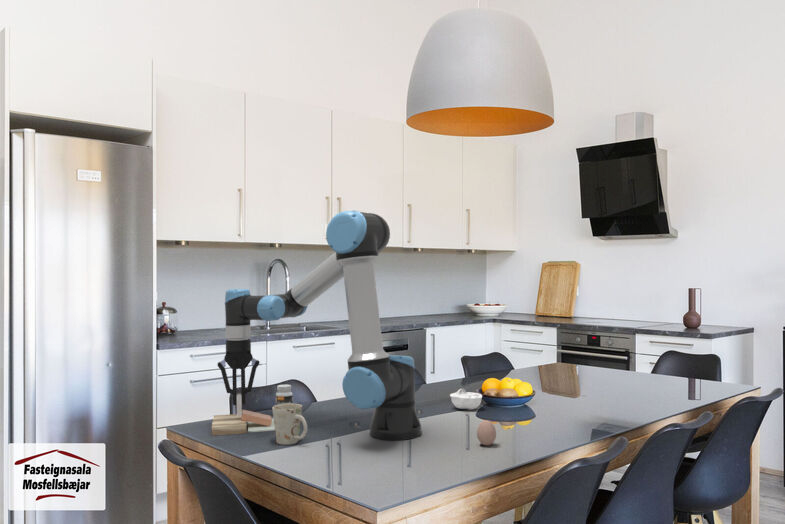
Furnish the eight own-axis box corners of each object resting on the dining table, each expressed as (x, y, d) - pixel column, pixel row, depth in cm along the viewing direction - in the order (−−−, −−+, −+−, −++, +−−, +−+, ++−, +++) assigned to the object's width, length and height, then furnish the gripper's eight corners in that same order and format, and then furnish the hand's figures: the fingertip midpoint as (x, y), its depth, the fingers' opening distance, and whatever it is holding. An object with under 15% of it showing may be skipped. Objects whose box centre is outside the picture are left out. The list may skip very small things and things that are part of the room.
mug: (288, 436, 193) (288, 402, 193) (319, 443, 185) (318, 407, 185) (266, 442, 186) (266, 407, 186) (297, 450, 178) (296, 412, 178)
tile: (269, 422, 210) (271, 415, 210) (270, 426, 204) (272, 420, 204) (241, 415, 208) (242, 409, 208) (241, 420, 202) (243, 413, 202)
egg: (473, 445, 180) (472, 420, 180) (485, 441, 184) (484, 417, 184) (488, 449, 177) (488, 423, 177) (500, 445, 180) (499, 420, 180)
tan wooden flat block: (246, 433, 197) (246, 424, 197) (211, 435, 195) (211, 427, 195) (246, 421, 213) (246, 413, 213) (213, 423, 211) (213, 415, 211)
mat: (288, 429, 201) (288, 428, 201) (248, 432, 198) (248, 431, 198) (285, 418, 217) (285, 416, 217) (247, 420, 214) (247, 419, 214)
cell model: (469, 414, 219) (468, 393, 219) (443, 408, 228) (443, 389, 228) (489, 409, 225) (489, 389, 225) (464, 404, 234) (464, 385, 234)
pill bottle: (276, 418, 217) (276, 387, 217) (275, 414, 223) (274, 384, 223) (294, 416, 219) (293, 386, 219) (292, 413, 224) (291, 383, 224)
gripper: (259, 336, 210) (260, 411, 210) (216, 338, 207) (217, 414, 207) (260, 339, 203) (261, 416, 202) (216, 341, 200) (217, 419, 199)
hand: (239, 415), depth 205 cm, fingers closed
